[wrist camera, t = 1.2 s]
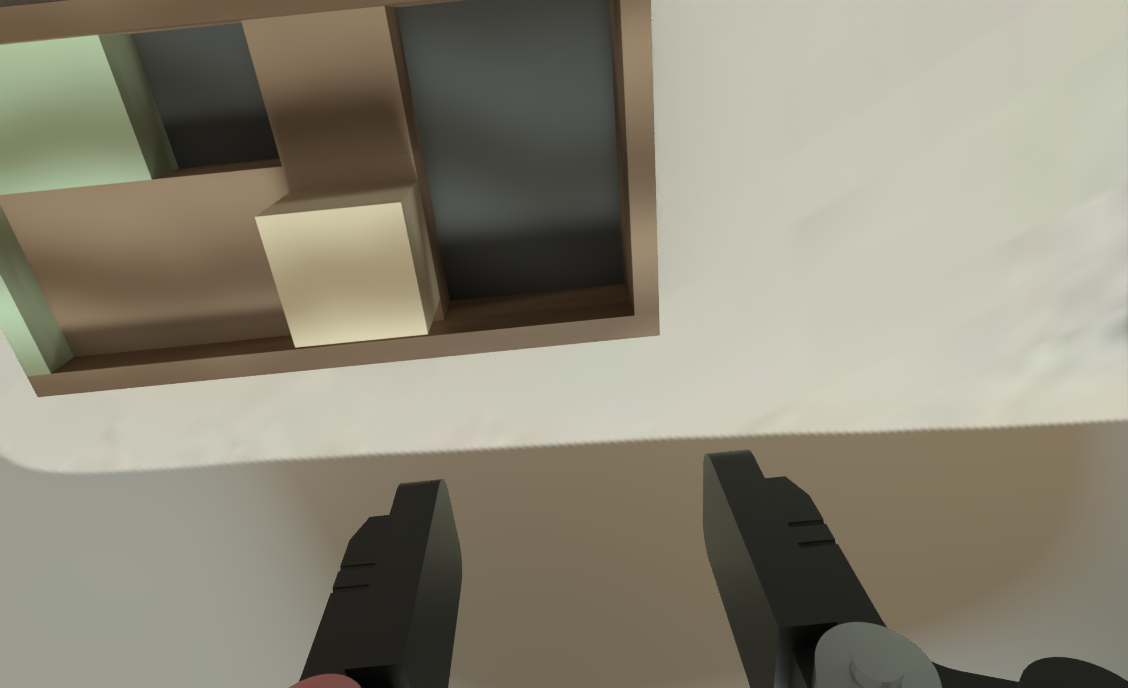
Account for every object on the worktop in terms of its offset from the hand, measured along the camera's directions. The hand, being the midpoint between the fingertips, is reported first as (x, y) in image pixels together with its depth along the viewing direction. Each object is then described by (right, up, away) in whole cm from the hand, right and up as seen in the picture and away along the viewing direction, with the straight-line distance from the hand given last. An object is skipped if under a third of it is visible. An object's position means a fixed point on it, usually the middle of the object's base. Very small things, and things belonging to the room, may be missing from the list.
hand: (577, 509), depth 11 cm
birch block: (-8, +7, +15) cm, 18 cm away
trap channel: (-10, +10, +16) cm, 21 cm away
